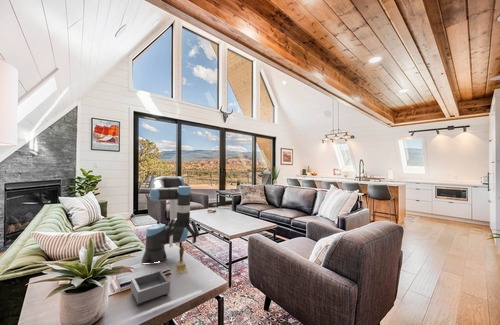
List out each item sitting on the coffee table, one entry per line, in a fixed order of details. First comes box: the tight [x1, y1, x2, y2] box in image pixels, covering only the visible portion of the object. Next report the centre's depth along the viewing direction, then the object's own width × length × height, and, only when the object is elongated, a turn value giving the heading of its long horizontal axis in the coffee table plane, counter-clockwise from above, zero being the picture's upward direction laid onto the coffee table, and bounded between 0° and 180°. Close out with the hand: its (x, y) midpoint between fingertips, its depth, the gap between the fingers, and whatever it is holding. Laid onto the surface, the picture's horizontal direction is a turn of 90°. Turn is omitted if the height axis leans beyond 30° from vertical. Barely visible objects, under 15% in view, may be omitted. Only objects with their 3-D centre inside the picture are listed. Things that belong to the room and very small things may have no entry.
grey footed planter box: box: [130, 269, 171, 307], centre depth 102 cm, size 14×14×7 cm
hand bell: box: [174, 245, 189, 274], centre depth 126 cm, size 8×8×16 cm
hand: (181, 247), depth 126 cm, fingers open, 13 cm apart
